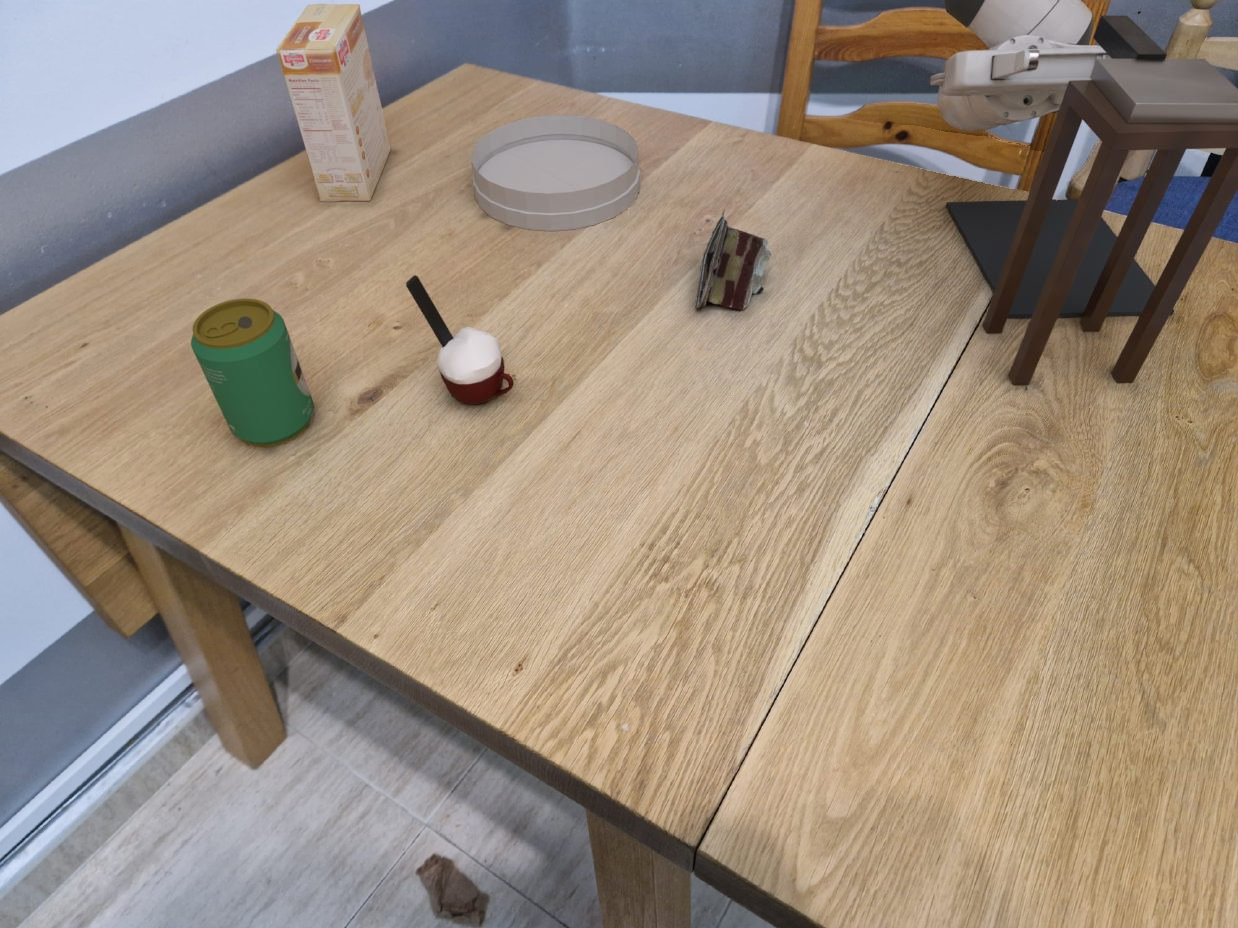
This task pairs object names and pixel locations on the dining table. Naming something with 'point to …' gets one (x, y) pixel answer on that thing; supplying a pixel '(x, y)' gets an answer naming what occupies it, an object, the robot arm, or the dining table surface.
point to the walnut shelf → (1117, 140)
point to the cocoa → (464, 355)
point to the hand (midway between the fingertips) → (1080, 58)
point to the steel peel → (1158, 80)
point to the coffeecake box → (336, 100)
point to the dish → (555, 172)
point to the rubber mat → (1045, 256)
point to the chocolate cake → (731, 267)
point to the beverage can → (253, 371)
